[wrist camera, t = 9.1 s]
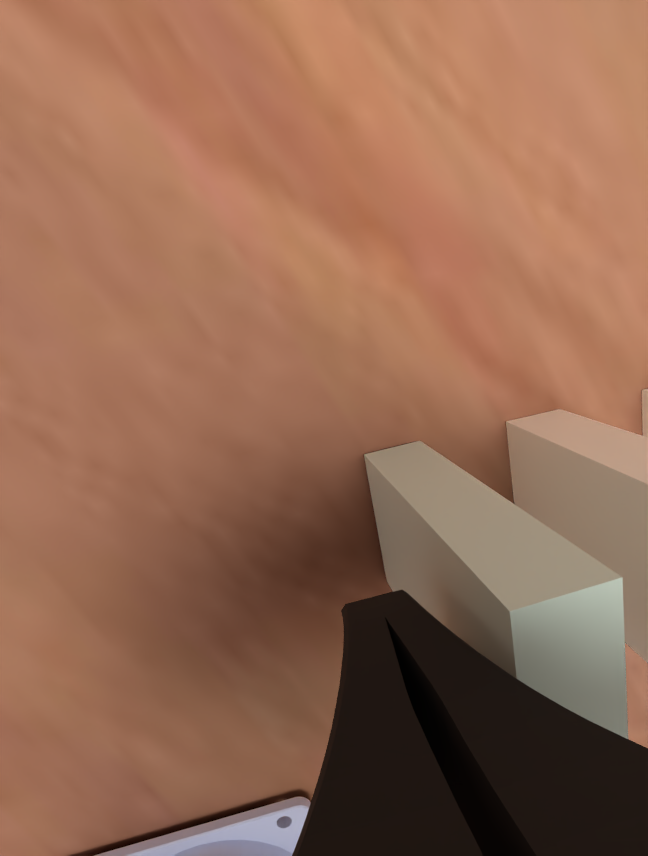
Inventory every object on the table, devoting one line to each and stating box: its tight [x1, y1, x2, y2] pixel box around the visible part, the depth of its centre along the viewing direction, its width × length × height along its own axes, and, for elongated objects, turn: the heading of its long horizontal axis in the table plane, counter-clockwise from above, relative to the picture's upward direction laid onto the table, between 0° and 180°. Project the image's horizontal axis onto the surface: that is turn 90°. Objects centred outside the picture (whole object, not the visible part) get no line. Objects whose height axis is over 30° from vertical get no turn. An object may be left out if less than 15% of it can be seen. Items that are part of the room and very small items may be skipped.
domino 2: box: [506, 409, 648, 663], centre depth 12 cm, size 2×4×8 cm, turn 11°
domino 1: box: [364, 441, 628, 739], centre depth 11 cm, size 2×4×8 cm, turn 11°
